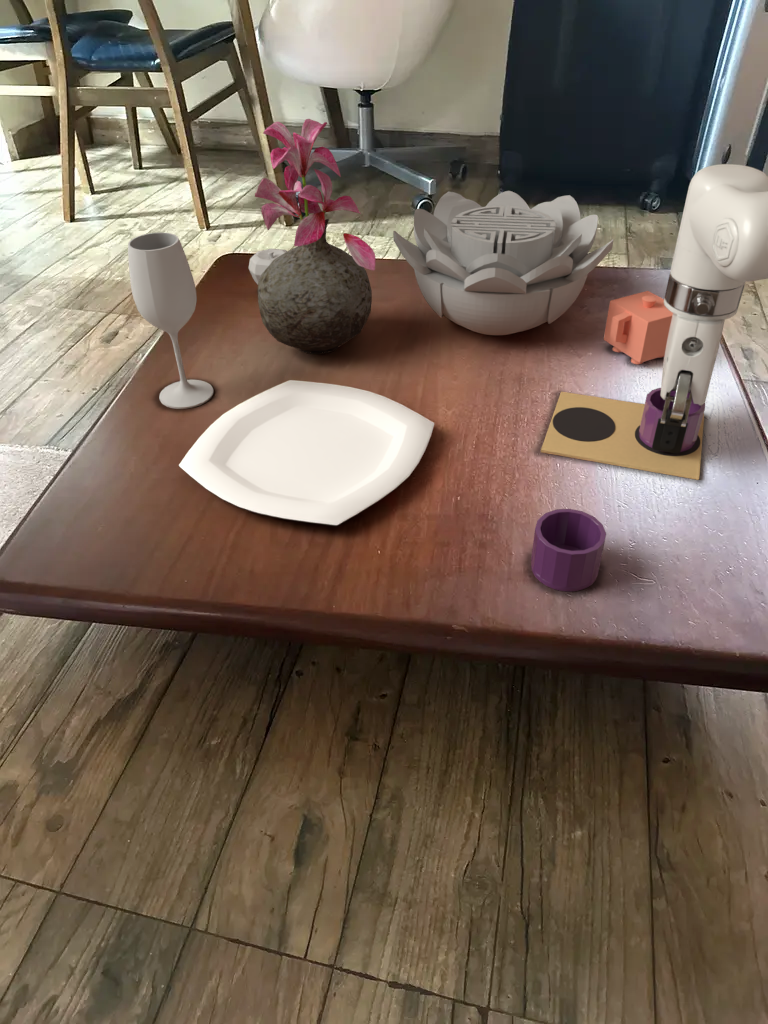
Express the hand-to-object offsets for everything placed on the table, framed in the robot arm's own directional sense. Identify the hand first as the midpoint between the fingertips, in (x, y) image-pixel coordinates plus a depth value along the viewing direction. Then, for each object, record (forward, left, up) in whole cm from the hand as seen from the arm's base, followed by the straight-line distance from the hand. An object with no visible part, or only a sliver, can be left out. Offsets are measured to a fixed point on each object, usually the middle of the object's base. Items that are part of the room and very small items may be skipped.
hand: (668, 432), depth 94 cm
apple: (+65, -26, -1) cm, 70 cm away
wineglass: (+62, +8, -1) cm, 63 cm away
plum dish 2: (0, 0, -1) cm, 1 cm away
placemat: (+5, 0, -1) cm, 5 cm away
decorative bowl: (+27, -25, -1) cm, 37 cm away
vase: (+50, -11, -1) cm, 51 cm away
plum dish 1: (+8, +26, -1) cm, 27 cm away
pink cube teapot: (+5, -22, -1) cm, 23 cm away
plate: (+40, +16, -1) cm, 43 cm away
